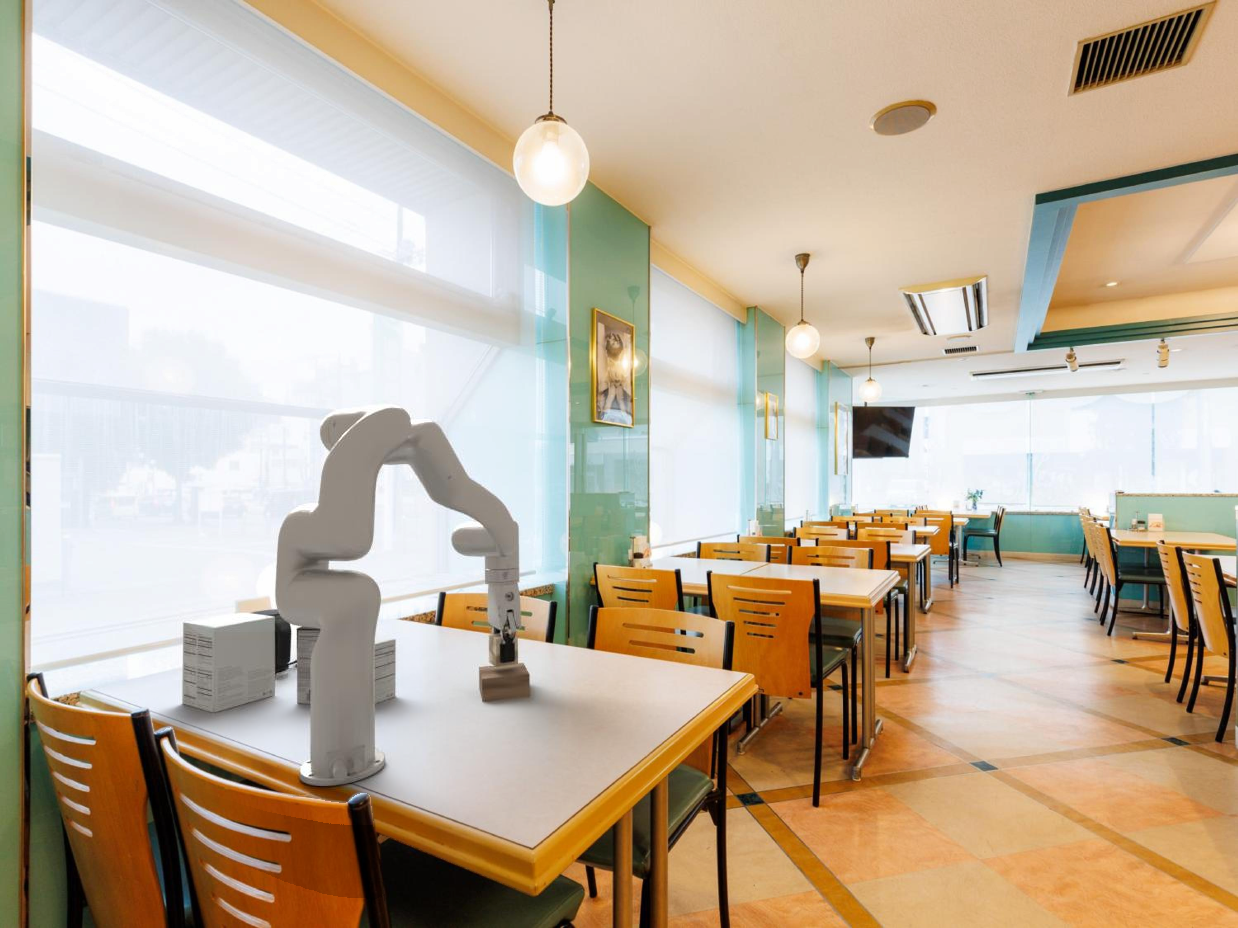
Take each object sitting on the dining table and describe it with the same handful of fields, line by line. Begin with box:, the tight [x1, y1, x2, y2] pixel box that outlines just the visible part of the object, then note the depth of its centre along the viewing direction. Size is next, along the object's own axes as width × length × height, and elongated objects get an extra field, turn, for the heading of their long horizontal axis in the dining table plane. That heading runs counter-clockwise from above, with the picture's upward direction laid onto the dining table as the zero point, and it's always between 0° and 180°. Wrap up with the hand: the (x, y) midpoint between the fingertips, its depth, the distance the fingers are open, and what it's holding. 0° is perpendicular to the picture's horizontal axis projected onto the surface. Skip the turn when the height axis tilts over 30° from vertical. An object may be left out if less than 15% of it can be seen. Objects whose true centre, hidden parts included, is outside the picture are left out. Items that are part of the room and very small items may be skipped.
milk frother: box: [250, 608, 297, 673], centre depth 167 cm, size 14×16×15 cm
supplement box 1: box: [181, 611, 276, 713], centre depth 141 cm, size 13×13×18 cm
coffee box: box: [296, 626, 321, 705], centre depth 141 cm, size 9×6×16 cm
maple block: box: [488, 632, 519, 667], centre depth 142 cm, size 5×5×6 cm
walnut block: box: [478, 662, 531, 703], centre depth 142 cm, size 10×10×5 cm
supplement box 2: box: [375, 636, 397, 705], centre depth 139 cm, size 7×7×13 cm
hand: (503, 658), depth 142 cm, fingers closed on maple block, 4 cm apart
